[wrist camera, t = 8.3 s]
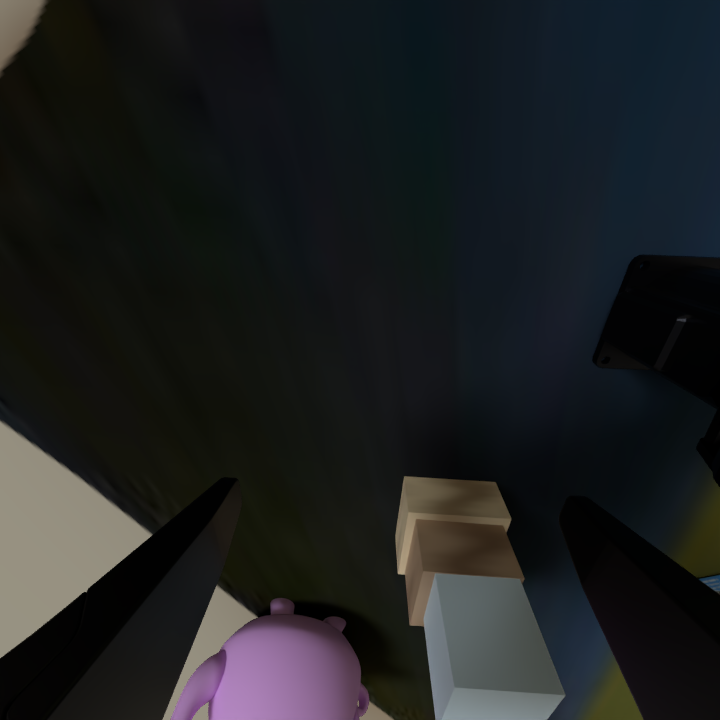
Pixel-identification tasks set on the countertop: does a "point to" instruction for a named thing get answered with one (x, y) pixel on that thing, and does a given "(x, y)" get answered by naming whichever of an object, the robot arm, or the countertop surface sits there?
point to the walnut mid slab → (454, 557)
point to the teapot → (279, 672)
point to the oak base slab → (446, 507)
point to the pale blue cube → (487, 651)
